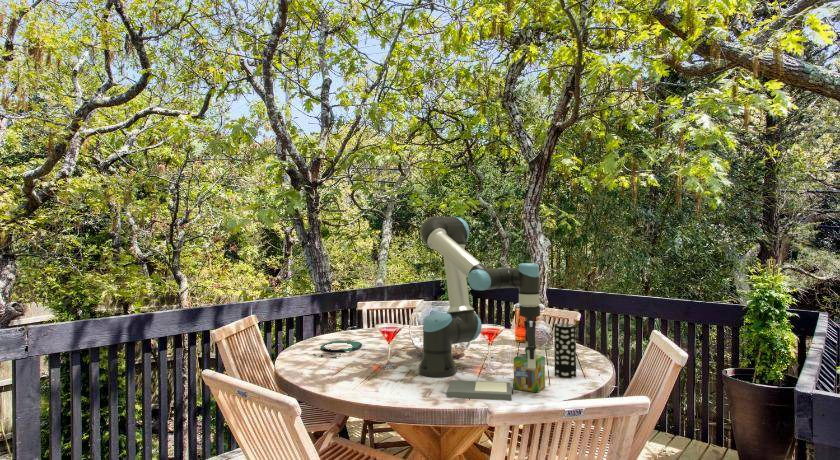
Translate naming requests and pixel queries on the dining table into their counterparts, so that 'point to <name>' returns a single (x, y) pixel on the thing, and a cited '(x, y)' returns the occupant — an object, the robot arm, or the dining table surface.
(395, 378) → the dining table surface
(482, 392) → the slate board
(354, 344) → the green piece
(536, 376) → the chalk box
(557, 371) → the white-spotted black cylinder
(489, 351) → the dining table surface
